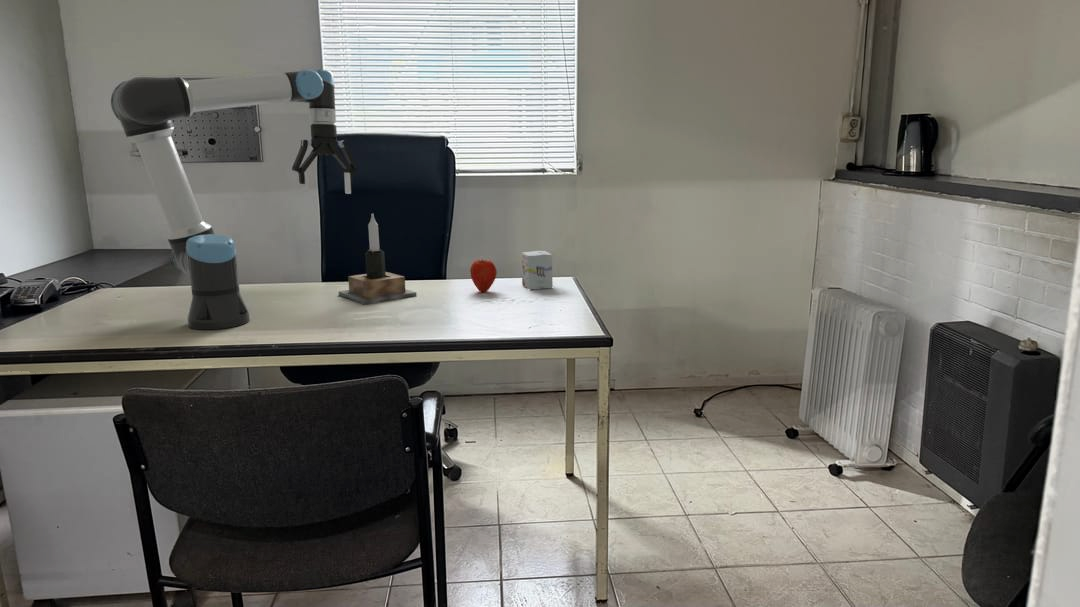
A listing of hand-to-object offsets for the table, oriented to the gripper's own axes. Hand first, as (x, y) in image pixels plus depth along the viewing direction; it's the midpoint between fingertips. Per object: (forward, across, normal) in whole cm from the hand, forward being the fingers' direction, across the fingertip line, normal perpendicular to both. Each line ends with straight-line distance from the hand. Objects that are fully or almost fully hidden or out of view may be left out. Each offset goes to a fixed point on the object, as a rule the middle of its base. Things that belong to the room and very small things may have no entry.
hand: (327, 194), depth 212 cm
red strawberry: (+32, +40, -26) cm, 58 cm away
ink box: (+31, +59, -32) cm, 74 cm away
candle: (+31, +11, -9) cm, 34 cm away
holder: (+32, +11, -9) cm, 35 cm away
